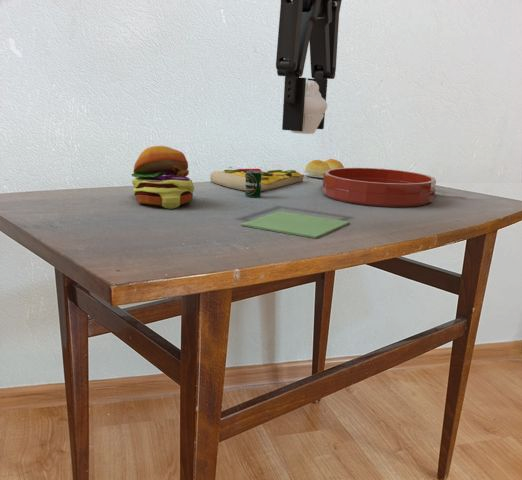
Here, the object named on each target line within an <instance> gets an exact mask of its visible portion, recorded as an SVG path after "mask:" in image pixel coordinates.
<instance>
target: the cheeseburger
mask: <svg viewBox="0 0 522 480" xmlns="http://www.w3.org/2000/svg"><path fill="white" fill-rule="evenodd" d="M133 165H134V166H133V173H131V177H134V178H133V179H132V185H133V196H134V197H136V201H137V203H138V204H139V205H140V204H142V205H151V206H161V207H162V208H165V209H168V210H173V209H176V208H179V207H180V205H184V204H187V203H189V202H191V201H193V198H194V197H193V196H194V191H195V184H194V182H193V180H192V179H191V178H190V177H188V176H189V175H190V171H189V162H188V160H187V157H186V155H185V154H184V152H182V151H180V150H177V149H175V148H172V147H169V146H167V145H153V146H149V147H147V148H145V149H144V150H143V151H142V152H141V153H140V154H139V156H138V157H137V159H136V161H135V163H134V164H133Z"/></svg>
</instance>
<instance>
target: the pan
mask: <svg viewBox="0 0 522 480" xmlns="http://www.w3.org/2000/svg"><path fill="white" fill-rule="evenodd" d="M322 178H323V180H322V188H321V190H322V191H321V192H322V193H323V194H324V195H325V197H327V198H330V199H333V200H335V201H339V202H343V203H348V204H355V205H360V206H361V205H362V206H370V207H383V208H387V207H388V208H409V207H411V208H412V207H420V206H424V205H428V204H429V203H431V202H433V201H434V199H435V198H434V197H435V191H436V183H437V179H436V177H433V176H431V175H429V174H428V175H427V174H424V173H421V172H420V173H419V172H413V171H408V170H398V169H390V168H376V167H344V168H337V169H330V170H326V171H325V172H324V176H322Z"/></svg>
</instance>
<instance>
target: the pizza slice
mask: <svg viewBox="0 0 522 480" xmlns="http://www.w3.org/2000/svg"><path fill="white" fill-rule="evenodd" d="M250 170H254V171H260V172H261V192H264V191H269V190H274V189H278V188H281V187H286V186H289V185H293V184H296V183H301V182H303V181H304V176H305V175H304V174H302V173H300V172H299V171H296V170H295V169H289V170H283V169H272V170H267V171H264V170H263V171H262V169H261V168H237V169H224V170H223V171H221V170H214V171H212V172H211V173H210V175H209V180H210V182H212V183H214V184H216V185H220V186H222V187H226V188H229V189H233V190H239V191H242V192H243V191H244V192H245V184H246V173H247V171H250Z"/></svg>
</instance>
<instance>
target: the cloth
mask: <svg viewBox="0 0 522 480" xmlns="http://www.w3.org/2000/svg"><path fill="white" fill-rule="evenodd" d="M350 222H351V221H348V220H341V219H334V218H329V217H328V218H327V217H321V216H314V215H309V214H301V213H295V212H289V211H282V210H280V211H277V212H273V213H269V214H267V215H264V216H261V217H258V218H254V219H251V220H248V221H245V222H242V223H240V226H241V227H246V228H252V229H258V230H264V231H270V232H276V233H282V234H287V235H293V236H300V237H305V238H311V239H318V238H321V237H323V236H325V235H328V234H330V233H332V232H334V231H336V230H338V229H341V228H343V227H345V226H347V225H350Z"/></svg>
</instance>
